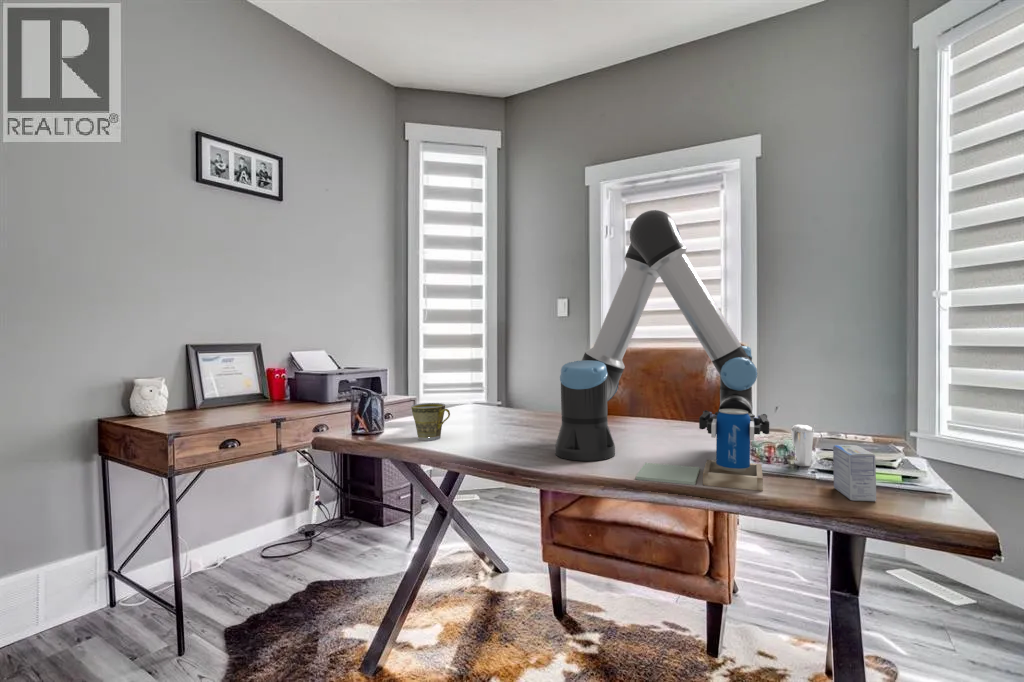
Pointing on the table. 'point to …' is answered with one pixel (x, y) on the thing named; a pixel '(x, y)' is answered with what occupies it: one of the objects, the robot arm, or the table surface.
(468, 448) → the table surface
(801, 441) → the milkshake
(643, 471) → the mat
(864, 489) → the medicine box
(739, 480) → the crate
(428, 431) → the ceramic cup
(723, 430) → the beverage can
